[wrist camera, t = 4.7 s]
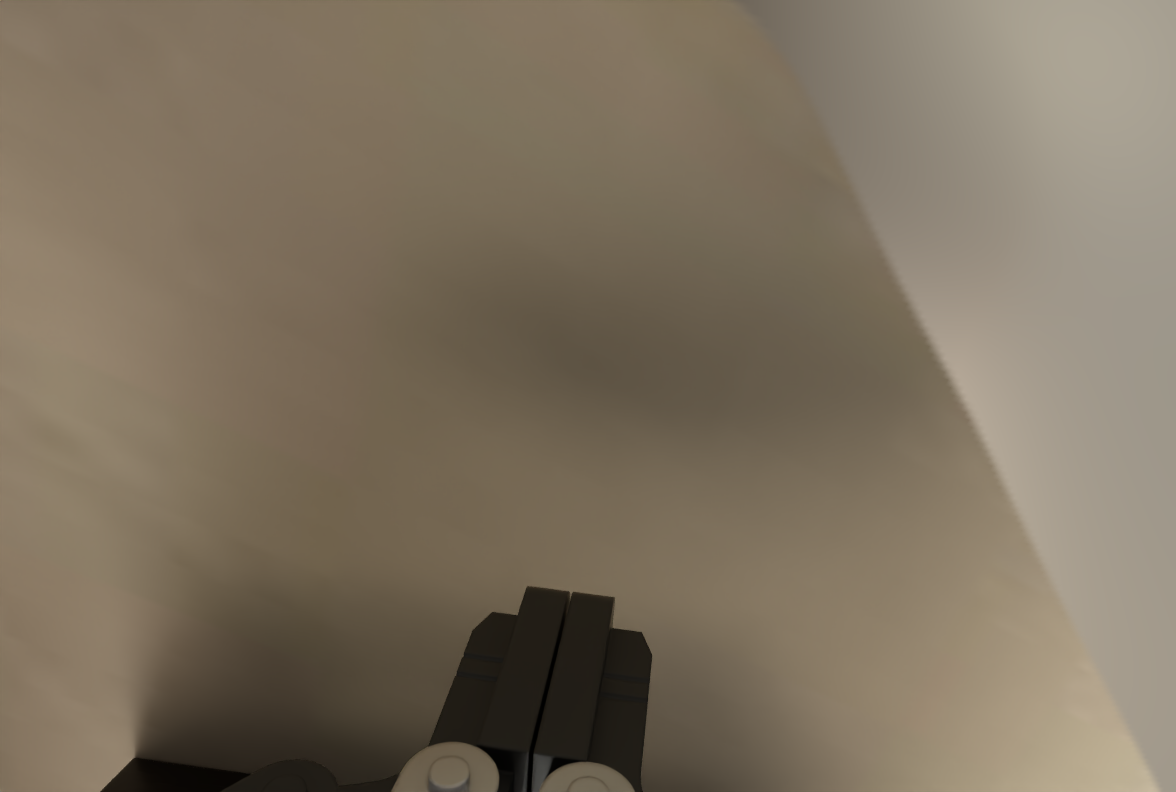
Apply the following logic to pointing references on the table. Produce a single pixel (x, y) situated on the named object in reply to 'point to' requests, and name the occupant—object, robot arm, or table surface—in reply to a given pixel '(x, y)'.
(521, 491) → the table surface
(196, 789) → the oven door
